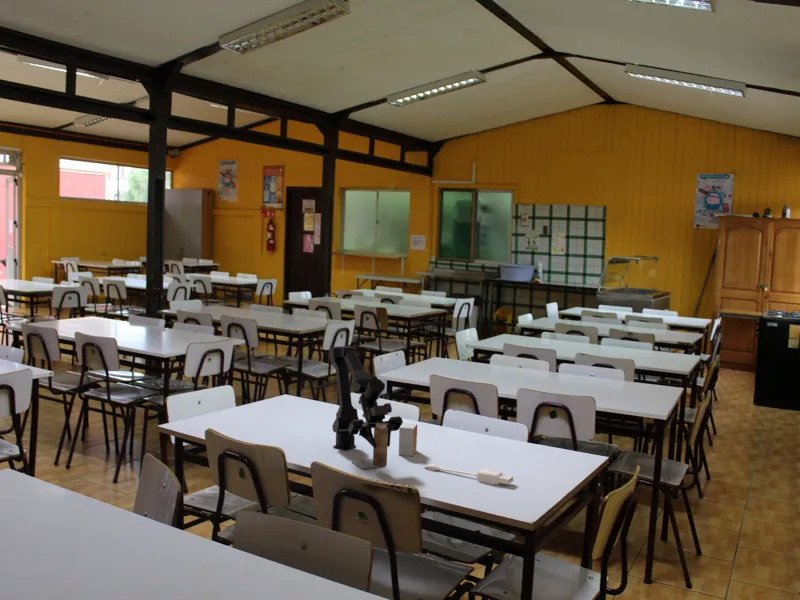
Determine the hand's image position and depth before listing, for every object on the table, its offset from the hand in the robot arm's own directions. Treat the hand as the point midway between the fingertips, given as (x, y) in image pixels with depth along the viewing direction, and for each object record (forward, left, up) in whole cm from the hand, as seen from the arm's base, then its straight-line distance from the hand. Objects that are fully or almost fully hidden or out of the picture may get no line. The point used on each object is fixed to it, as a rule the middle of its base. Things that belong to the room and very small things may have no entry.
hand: (382, 446), depth 248 cm
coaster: (-9, +6, -9) cm, 14 cm away
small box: (-6, +27, -10) cm, 30 cm away
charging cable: (+25, +16, -10) cm, 31 cm away
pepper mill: (-1, +1, -7) cm, 7 cm away
